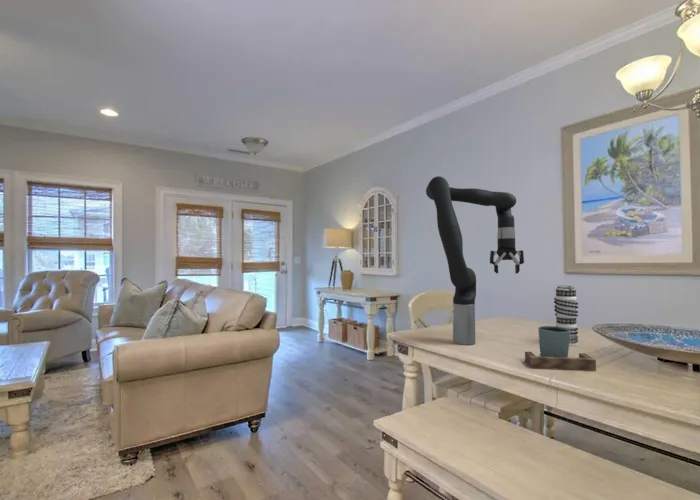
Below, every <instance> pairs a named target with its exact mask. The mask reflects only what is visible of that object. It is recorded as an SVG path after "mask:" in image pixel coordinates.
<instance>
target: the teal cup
mask: <svg viewBox="0 0 700 500" xmlns="http://www.w3.org/2000/svg"><path fill="white" fill-rule="evenodd" d="M537 329H538V344H539V356H543V357H569V350H570V346H569V340H570V330H569V329H566V328H562V327H556V325H542V326H538V328H537Z"/></svg>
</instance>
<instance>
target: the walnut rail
mask: <svg viewBox="0 0 700 500" xmlns="http://www.w3.org/2000/svg"><path fill="white" fill-rule="evenodd" d="M524 361H525V362H526V363H527V365H528V366H529V367H530V368H531V369H534V368H535V369H548V368H557V369H556V370H573V369H575V371H578V370H579V371H597V361H596V358H594V357H592V356H590V355H588V354H587V353H585V352H584V353H582V352H579V353H578V357H574V356H573V357H572V356H571V357H570V356H568V357H543V356H540V355H539V356H537V355H535V354H534V353H533V352H532V351H524Z"/></svg>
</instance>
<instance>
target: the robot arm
mask: <svg viewBox="0 0 700 500" xmlns="http://www.w3.org/2000/svg"><path fill="white" fill-rule="evenodd" d="M425 195H426V196H427V197H428V199H430V200H432V201H434V205H435V209H436V222H437V223H436V224H437V230H438V233H439V236H440V241H441V243H442V247H443V251H444V254H445V258H446V261H447V265H448V271H449V278H450V282H451V284H452V285H453V286H454V289H455V290H454V291H455V292H454V295H453V296H452V297H453V298H452V307H453V308H452V309H453V310H452V311H453V312H452V315H453V316H452V318H453V319H452V342H453V344H455V345H457V344H458V345H463V346H464V345H465V346H466V345H468V346H470V345H471V346H472V345H475V344H476V297H477V276H476V273H475V271H474V270H473V269H472V268H471V267H468V266H467V263H466V260H465V258H464V257H465V256H464V252H463V251H464V250H463V247H464V245H463V243H464V242H463V235H462V231H461V228H460V224H459V222H458V218H457V215H456V211H455V208H454V206H453V202H459V203H460V202H461V203H466V204H467V203H469V204H473V205H479V206H484V207H493V206H494V207H495V212H496V213H495V214H496V216H497V233H496V234H497V235H496V239H497V241H496V242H497V243H496V244H497V250H490V252H489V264H491V265H493V268H494V269H493V273H495V274H499V263H500V262H501V261H511V260H512V262H513V263H514V264H515V265H514V267H515V269H514V271H515V273H514V274H519V273H520V265H522V264H524V263H525V259H524V258H525V256H524V250H521V249H520V250H516V230H515V217H514V216H515V215H512V209H513V207H515V206H516V204H517V198H516V196H515V194H513V193H510V192H505V191H493V190H492V191H491V190H487V189H482V188H472V187H471V188H468V187H467V188H457V187H452V186H450V185H449V182H448V181H447V179H446V178H444V176H435V177H433V178H432V179H431V180H430V181H429V183H428V184H427V186H426V189H425ZM496 255H497V256H498V257H497V258H496V260H495V261H494V259H495V256H496ZM516 255H517V256H518V257H519V260H518V258H517V257H516Z"/></svg>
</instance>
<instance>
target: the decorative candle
mask: <svg viewBox="0 0 700 500" xmlns="http://www.w3.org/2000/svg"><path fill="white" fill-rule="evenodd" d="M577 290H578V289H576V288H575V286H574V285H567V284H564V285H563V284H560V285H557V287H556V288H555V297H553V300H554V301H553V303H554V306H553V307H554V312H555V313H554V316H555V319H556V320H555V327H562V328H566V329H569V330H570V340H569V347H575V345H576V346H578V345H579V343H578V342H579V336H578V333H579V332H578V330H579V328H578V324H577V318H578V317H579V314H578V313H579V311H578V310H577V309H578V308H579V302H577Z"/></svg>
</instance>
